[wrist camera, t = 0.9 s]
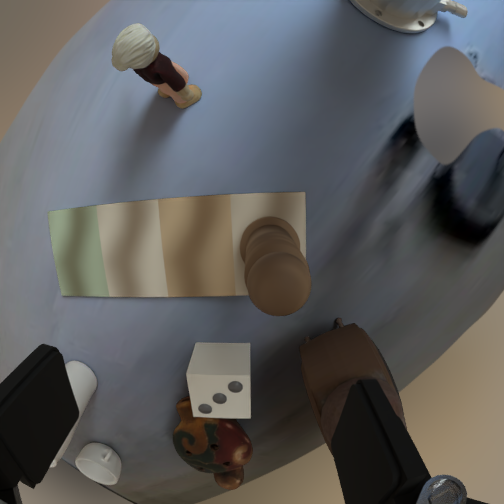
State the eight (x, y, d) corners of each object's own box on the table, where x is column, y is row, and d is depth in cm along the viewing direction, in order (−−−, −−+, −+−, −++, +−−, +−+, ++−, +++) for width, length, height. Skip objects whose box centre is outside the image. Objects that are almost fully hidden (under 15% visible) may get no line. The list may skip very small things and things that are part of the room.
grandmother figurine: (218, 86, 25) (196, 27, 13) (199, 119, 26) (161, 81, 14) (153, 60, 25) (99, 4, 12) (134, 92, 25) (68, 51, 13)
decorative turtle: (216, 459, 38) (207, 499, 30) (158, 391, 35) (136, 431, 27) (274, 446, 36) (272, 489, 28) (221, 372, 34) (207, 416, 26)
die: (250, 342, 32) (249, 376, 26) (250, 384, 34) (250, 419, 28) (195, 341, 32) (185, 374, 26) (200, 383, 34) (193, 417, 28)
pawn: (298, 215, 28) (332, 245, 16) (298, 272, 30) (327, 335, 17) (238, 217, 28) (229, 249, 16) (241, 274, 30) (235, 341, 18)
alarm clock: (376, 381, 34) (438, 502, 14) (325, 403, 34) (361, 535, 15) (347, 287, 30) (446, 420, 11) (284, 315, 31) (318, 478, 12)
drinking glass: (72, 390, 35) (25, 459, 20) (56, 352, 33) (-4, 418, 18) (110, 395, 34) (67, 474, 20) (94, 355, 33) (36, 433, 18)
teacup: (117, 468, 40) (109, 489, 34) (81, 446, 38) (70, 466, 33) (137, 450, 38) (128, 474, 32) (96, 425, 36) (83, 448, 31)
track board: (304, 191, 28) (305, 192, 28) (304, 291, 30) (305, 292, 30) (49, 211, 28) (47, 211, 28) (63, 294, 31) (62, 295, 30)
